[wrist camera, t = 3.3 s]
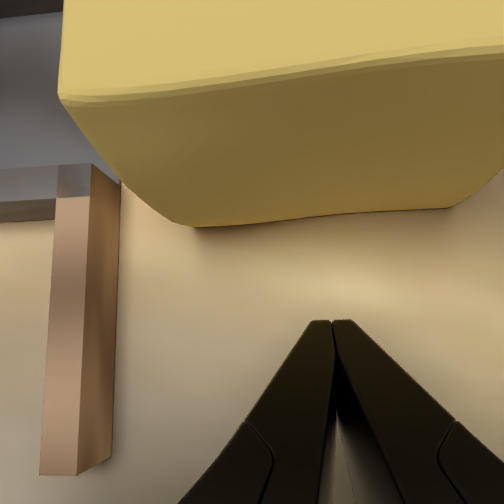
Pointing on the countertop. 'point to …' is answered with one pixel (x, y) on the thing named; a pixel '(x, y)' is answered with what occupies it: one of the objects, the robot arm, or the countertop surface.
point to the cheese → (288, 103)
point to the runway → (62, 234)
